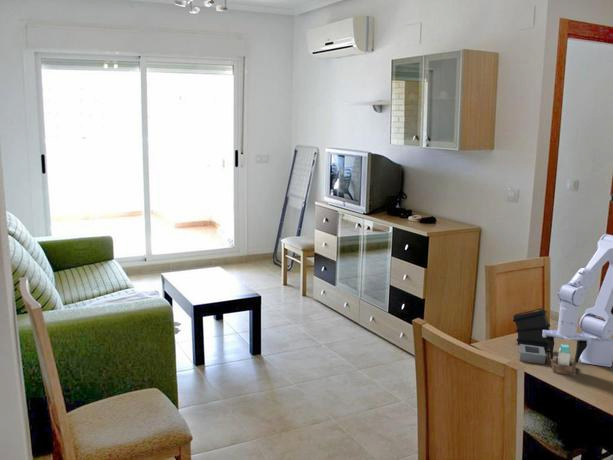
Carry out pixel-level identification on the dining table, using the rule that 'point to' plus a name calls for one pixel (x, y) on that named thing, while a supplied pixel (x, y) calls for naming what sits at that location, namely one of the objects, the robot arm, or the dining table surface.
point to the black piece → (532, 328)
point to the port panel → (532, 354)
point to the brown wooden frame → (563, 367)
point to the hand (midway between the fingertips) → (563, 359)
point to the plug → (564, 355)
